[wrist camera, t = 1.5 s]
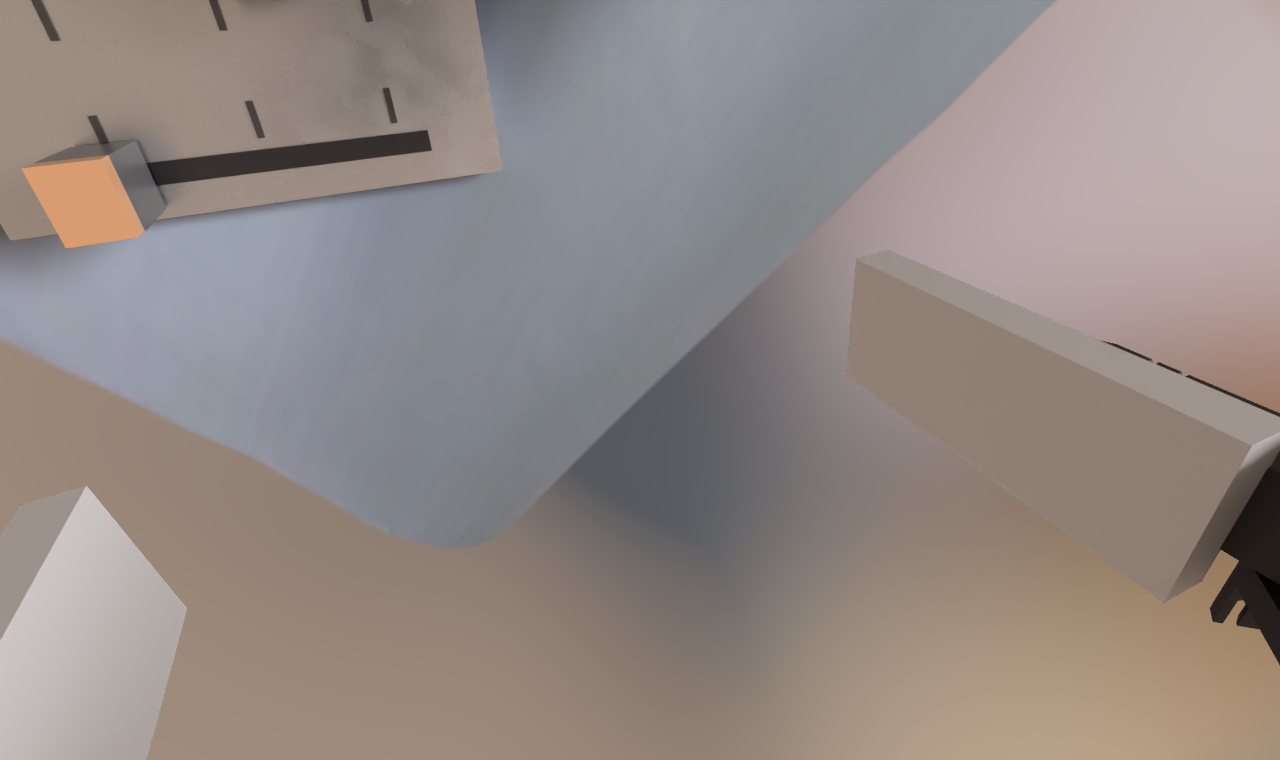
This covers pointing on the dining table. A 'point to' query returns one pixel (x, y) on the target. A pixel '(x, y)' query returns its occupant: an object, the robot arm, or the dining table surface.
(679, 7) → the dining table surface
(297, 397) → the dining table surface
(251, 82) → the console
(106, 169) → the fader
